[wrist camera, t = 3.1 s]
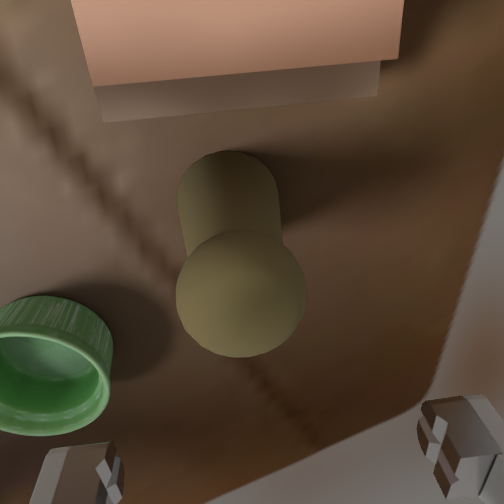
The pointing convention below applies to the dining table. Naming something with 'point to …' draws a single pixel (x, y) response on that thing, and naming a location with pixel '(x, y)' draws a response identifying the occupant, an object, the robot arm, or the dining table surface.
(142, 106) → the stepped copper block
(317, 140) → the dining table surface
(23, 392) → the ramekin
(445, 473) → the robot arm
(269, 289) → the cork
